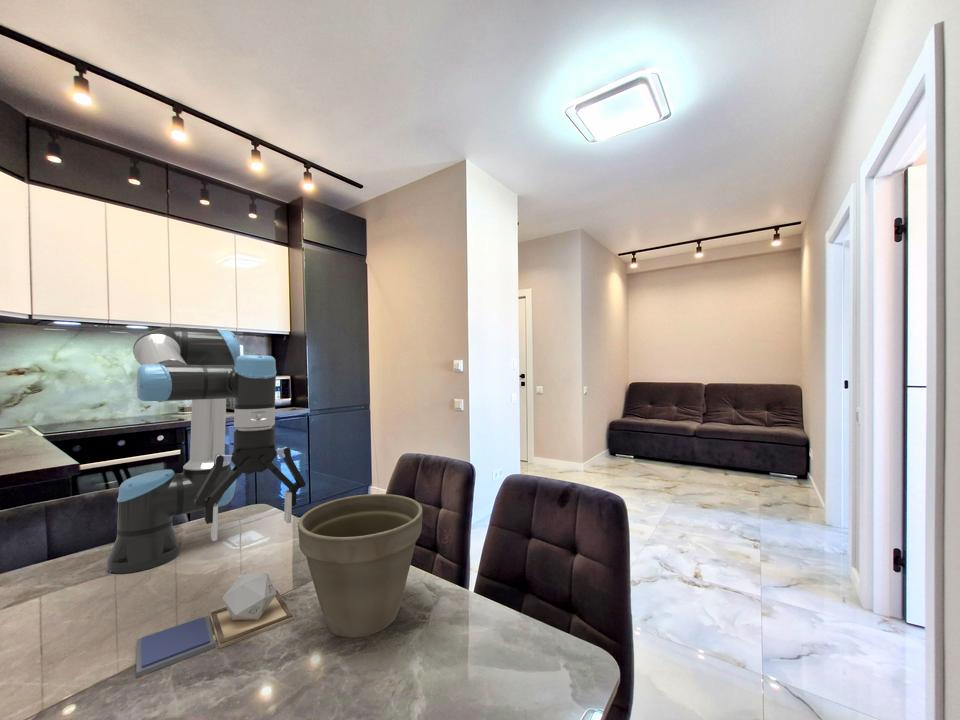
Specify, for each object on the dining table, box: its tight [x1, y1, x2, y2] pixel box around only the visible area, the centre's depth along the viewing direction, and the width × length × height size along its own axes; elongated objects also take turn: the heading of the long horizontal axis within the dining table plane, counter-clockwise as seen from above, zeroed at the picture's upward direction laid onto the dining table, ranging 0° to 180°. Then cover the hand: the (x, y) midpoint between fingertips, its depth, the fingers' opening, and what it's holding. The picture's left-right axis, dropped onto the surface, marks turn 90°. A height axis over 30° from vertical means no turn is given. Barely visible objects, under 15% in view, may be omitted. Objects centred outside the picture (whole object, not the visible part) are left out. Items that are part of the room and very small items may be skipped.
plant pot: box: [297, 493, 423, 639], centre depth 82 cm, size 25×25×22 cm
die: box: [222, 572, 277, 620], centre depth 81 cm, size 8×9×10 cm
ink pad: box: [135, 615, 216, 678], centre depth 73 cm, size 11×11×1 cm
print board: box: [209, 589, 295, 650], centre depth 81 cm, size 13×13×1 cm
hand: (252, 529), depth 82 cm, fingers open, 13 cm apart
